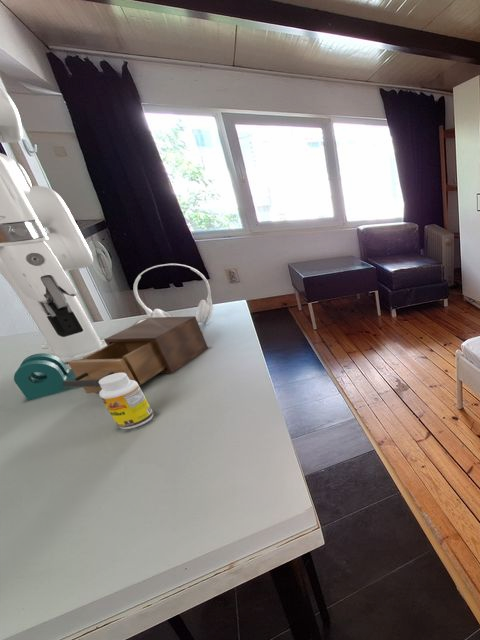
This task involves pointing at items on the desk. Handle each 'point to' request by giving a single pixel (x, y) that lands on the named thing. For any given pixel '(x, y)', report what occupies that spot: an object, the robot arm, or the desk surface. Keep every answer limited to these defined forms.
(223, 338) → the desk surface
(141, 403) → the supplement bottle
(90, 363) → the drawer
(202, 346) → the cabinet
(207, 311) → the headphones
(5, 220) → the robot arm
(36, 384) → the bracket
